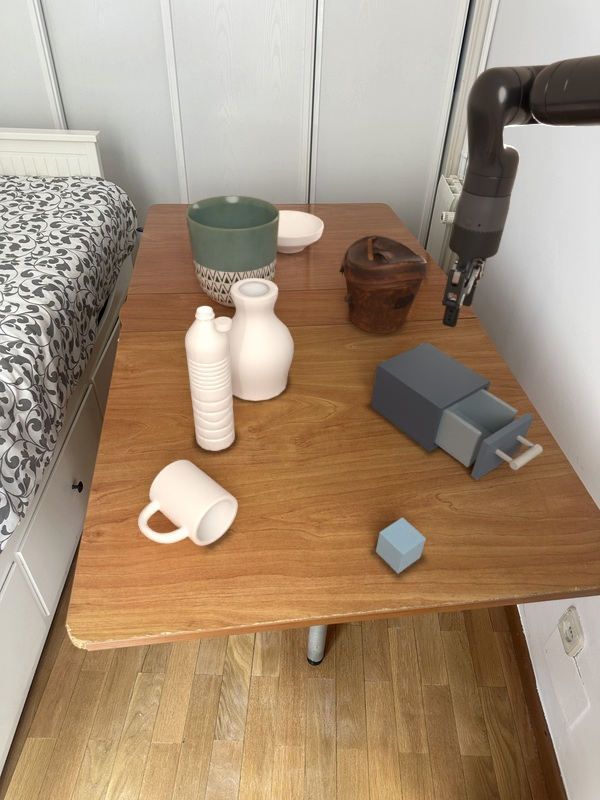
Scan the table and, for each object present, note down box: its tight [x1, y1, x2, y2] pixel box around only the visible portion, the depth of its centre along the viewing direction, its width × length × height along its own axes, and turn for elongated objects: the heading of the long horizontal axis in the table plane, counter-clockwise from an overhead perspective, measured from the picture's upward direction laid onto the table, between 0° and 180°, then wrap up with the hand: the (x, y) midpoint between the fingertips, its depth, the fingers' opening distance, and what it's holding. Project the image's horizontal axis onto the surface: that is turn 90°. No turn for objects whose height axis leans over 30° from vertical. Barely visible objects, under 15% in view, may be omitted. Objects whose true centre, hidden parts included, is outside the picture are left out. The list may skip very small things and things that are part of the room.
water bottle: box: [184, 305, 236, 452], centre depth 83 cm, size 9×6×25 cm
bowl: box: [277, 209, 325, 254], centre depth 151 cm, size 20×20×7 cm
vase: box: [225, 278, 295, 402], centre depth 98 cm, size 14×14×20 cm
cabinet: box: [370, 341, 492, 453], centre depth 95 cm, size 15×13×10 cm
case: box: [338, 234, 429, 334], centre depth 118 cm, size 18×20×18 cm
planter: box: [185, 195, 280, 308], centre depth 121 cm, size 20×20×21 cm
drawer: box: [435, 389, 543, 481], centre depth 88 cm, size 18×11×8 cm, turn 37°
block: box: [375, 516, 427, 574], centre depth 73 cm, size 4×4×4 cm
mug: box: [137, 459, 239, 547], centre depth 74 cm, size 12×10×8 cm
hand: (457, 314), depth 91 cm, fingers open, 8 cm apart
